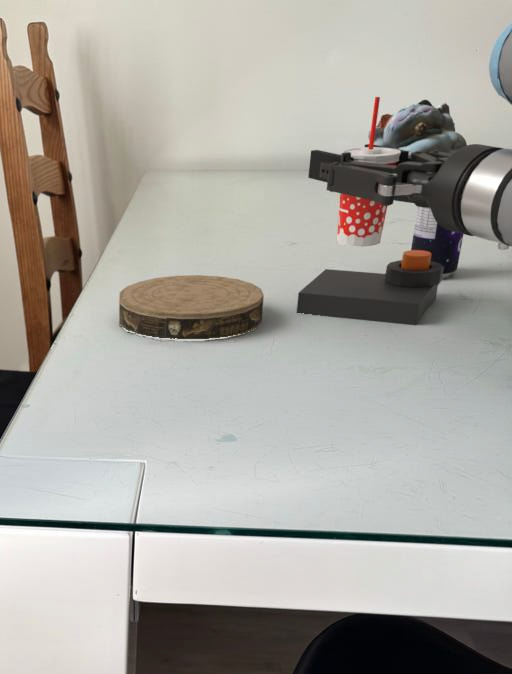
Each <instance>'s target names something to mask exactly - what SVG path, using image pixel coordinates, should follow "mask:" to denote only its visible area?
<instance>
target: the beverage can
mask: <svg viewBox="0 0 512 674" xmlns="http://www.w3.org/2000/svg"><path fill="white" fill-rule="evenodd" d="M414 222H415V223H414V227H413V228H414V229H413V235H412V242H411V247H410V250H422V251H428V252H430V253H431V260H430V261H432V262H437V263H440V264H441V265H442V266H444V269H443V275H442V280H443V279H447V278H449V277H450V276H451V275H452V274H453V273H455V272H456V271H457V270H458V267H459V260H460V256H461V250H462V245H463V241H464V239H463V238H464V234H461V233H458V232H454V231H450V230H447V229H444V228H443V227H441V226H440V225H439V224H438V223H437V222H436V220H435V219H434V217H433V214H432V212H431V209H430V208H424V207H418V206H417V209H416V215H415V221H414Z"/></svg>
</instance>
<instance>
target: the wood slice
mask: <svg viewBox="0 0 512 674" xmlns="http://www.w3.org/2000/svg"><path fill="white" fill-rule="evenodd" d="M264 296H265V295H264V292H263V289H262V288H261V287H260V286H258V285H255V284H254V283H252V282H249V281H245V280H242V279H238V278H232V277H227V276H226V277H225V276H219V275H218V276H217V275H202V274H201V275H200V274H195V275H194V274H193V275H192V274H191V275H189V274H187V275H172V276H171V275H170V276H163V277H162V276H161V277H155V278H151V279H145V280H140V281H138V282H135V283H132V284H130V285H126V286H125V287H124V288H123V289H122V290H120V291H119V297H118V299H119V300H118V301H119V302H118V303H119V304H118V305H119V307H118V309H119V311H118V312H119V313H118V314H119V315H118V316H119V319H118V320H119V321H118V322H119V323H118V325H121V326H122V327H123V328H125V329H126V330H128V331H132V332H135V333H137V334H141V335H146V336H152V337H159V338H170V339H172V338H173V339H175V338H177V339H209V338H220V337H228V336H233V335H238V334H243V333H246V332H248V331H250V332H252V331H254V330H256V329H258V328H259V326H260V325H261V323H262V320H263V310H264V309H263V308H264V307H263V306H264ZM259 324H260V325H259ZM258 325H259V326H258ZM123 328H122V329H123ZM255 328H256V329H255ZM253 329H254V330H253ZM251 330H252V331H251ZM248 333H249V332H248ZM246 334H247V333H246Z"/></svg>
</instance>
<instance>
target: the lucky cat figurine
mask: <svg viewBox="0 0 512 674" xmlns="http://www.w3.org/2000/svg"><path fill="white" fill-rule="evenodd" d="M450 111H451V110H450V106H449V105H448V104H447V103H446V102H444V103H441V104H439V105H438V106H436V107H435V106H434V105H433V104H432V102H430V100H428V99H422V100H421V101H419V102H418V103H416V104H415V103H413V104H409V105H405V106H404V107H402V108H400V109H398V110H397V111H396V112H395V113H393V114H390V113H386V114H382V115H381V116H380V120H379V121H378V123H377V125H376V131H375V138H374V145H379V146H384V147H389V148H394V149H400V150H405V151H409V154H408V155H410V156H411V153H413V152H415V151H420V152H422V153H425V154H427V155H429V153H430V152H431V151H433V150H439V151H440V152H445V153H450V154H453V153H454V152H455V151H457V150H458V149H460V148H462V147H464V146H467V145H468V143H467V140H466V139H465V137H464V136H463V135H462V134H460V133H459V132H457V131H456V127H455V125H456V123H455V121H454V119H453V118H452V116H451V112H450ZM370 133H371V130H369V131H368V133H367V134H368V135H367V137H368V141H370Z"/></svg>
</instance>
